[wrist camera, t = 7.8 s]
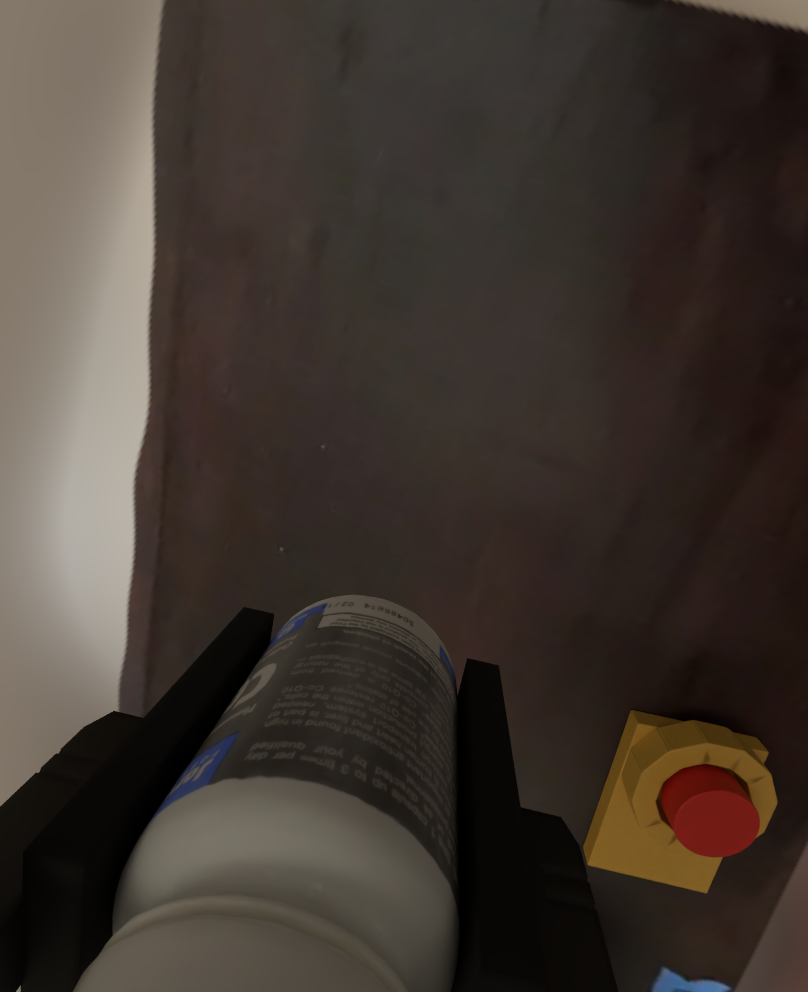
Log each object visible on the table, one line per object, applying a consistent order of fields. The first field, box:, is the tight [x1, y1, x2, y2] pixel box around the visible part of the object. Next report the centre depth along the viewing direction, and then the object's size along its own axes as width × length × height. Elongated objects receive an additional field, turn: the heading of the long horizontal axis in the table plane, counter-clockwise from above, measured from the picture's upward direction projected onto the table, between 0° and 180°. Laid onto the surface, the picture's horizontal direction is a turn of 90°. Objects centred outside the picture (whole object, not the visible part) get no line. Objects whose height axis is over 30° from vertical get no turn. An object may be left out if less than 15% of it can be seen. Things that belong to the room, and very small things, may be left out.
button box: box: [583, 710, 778, 893], centre depth 28 cm, size 11×7×3 cm, turn 169°
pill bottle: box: [73, 595, 460, 992], centre depth 9 cm, size 5×5×8 cm
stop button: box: [661, 765, 760, 857], centre depth 26 cm, size 4×4×2 cm
